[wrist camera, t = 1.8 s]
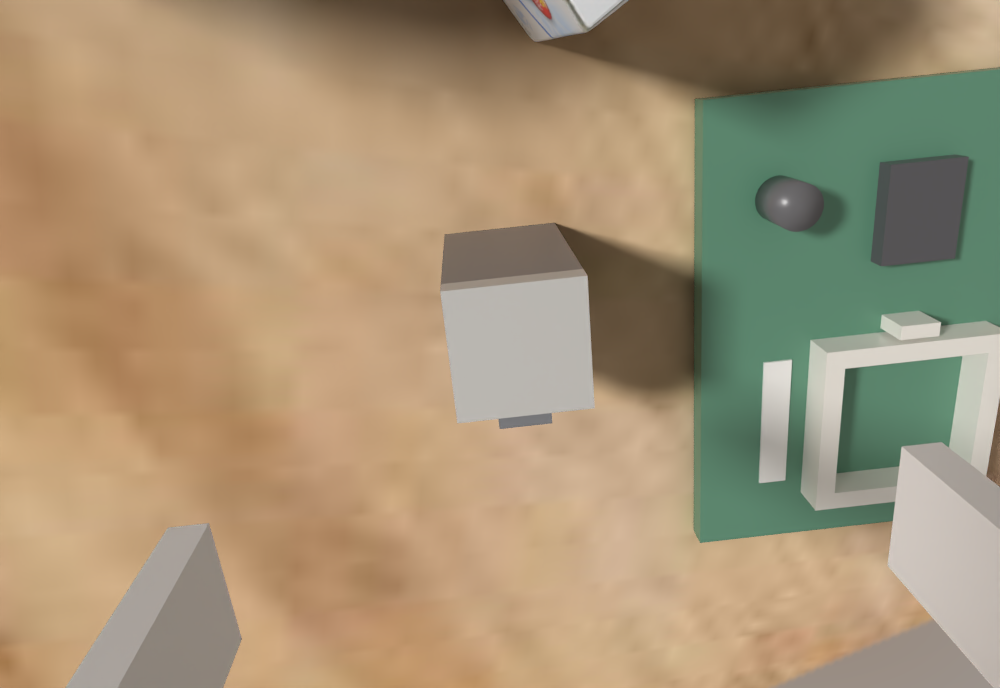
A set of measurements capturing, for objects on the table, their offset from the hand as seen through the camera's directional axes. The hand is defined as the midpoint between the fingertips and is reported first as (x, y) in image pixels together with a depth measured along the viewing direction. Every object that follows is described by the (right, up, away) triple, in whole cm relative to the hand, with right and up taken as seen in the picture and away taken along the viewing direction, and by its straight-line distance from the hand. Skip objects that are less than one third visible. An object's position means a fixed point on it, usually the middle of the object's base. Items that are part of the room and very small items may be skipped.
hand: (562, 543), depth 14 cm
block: (-1, +6, +16) cm, 18 cm away
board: (+14, +5, +18) cm, 23 cm away
